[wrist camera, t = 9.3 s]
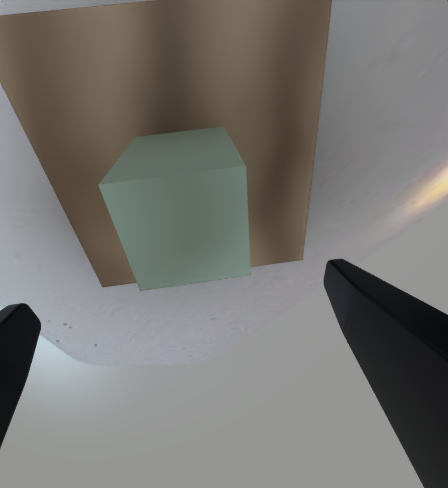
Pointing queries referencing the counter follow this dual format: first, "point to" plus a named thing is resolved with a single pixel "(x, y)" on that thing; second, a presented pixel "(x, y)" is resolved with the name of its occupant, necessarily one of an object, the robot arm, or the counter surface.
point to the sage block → (181, 208)
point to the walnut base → (172, 103)
